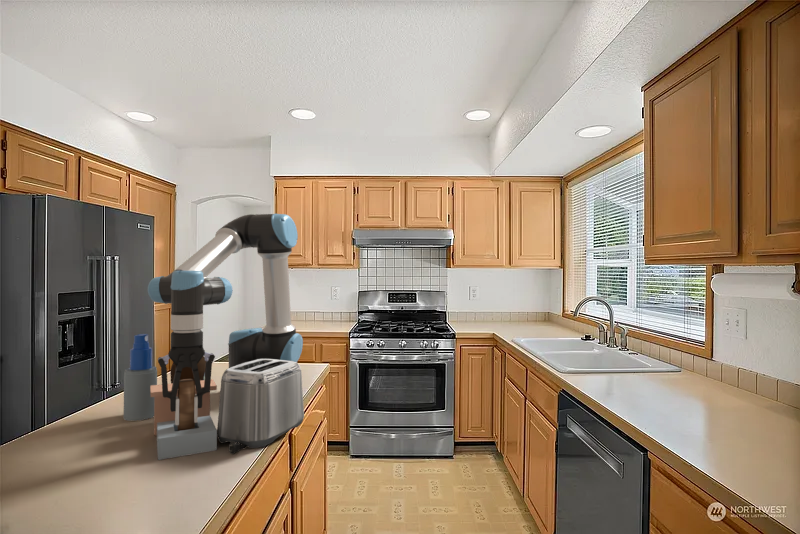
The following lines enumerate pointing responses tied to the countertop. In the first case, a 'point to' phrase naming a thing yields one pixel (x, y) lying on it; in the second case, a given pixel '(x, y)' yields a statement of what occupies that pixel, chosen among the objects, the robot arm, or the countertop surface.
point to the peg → (186, 404)
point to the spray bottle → (139, 381)
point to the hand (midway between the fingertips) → (186, 422)
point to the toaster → (259, 402)
